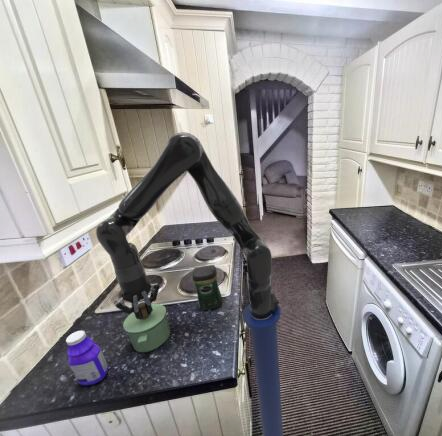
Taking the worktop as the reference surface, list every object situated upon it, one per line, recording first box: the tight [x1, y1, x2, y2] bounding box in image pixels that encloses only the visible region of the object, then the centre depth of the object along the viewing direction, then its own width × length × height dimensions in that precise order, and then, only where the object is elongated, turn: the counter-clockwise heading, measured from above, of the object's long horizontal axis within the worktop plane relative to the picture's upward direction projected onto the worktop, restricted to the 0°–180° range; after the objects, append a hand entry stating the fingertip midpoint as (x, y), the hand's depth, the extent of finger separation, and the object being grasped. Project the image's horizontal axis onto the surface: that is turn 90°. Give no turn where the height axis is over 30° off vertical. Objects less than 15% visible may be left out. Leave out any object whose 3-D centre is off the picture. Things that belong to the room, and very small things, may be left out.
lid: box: [122, 301, 167, 334], centre depth 80 cm, size 13×13×7 cm
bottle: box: [65, 330, 109, 386], centre depth 68 cm, size 7×6×17 cm
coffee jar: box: [192, 264, 223, 311], centre depth 96 cm, size 10×8×19 cm
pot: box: [127, 314, 171, 353], centre depth 83 cm, size 12×17×8 cm
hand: (145, 315), depth 80 cm, fingers closed on lid, 2 cm apart
